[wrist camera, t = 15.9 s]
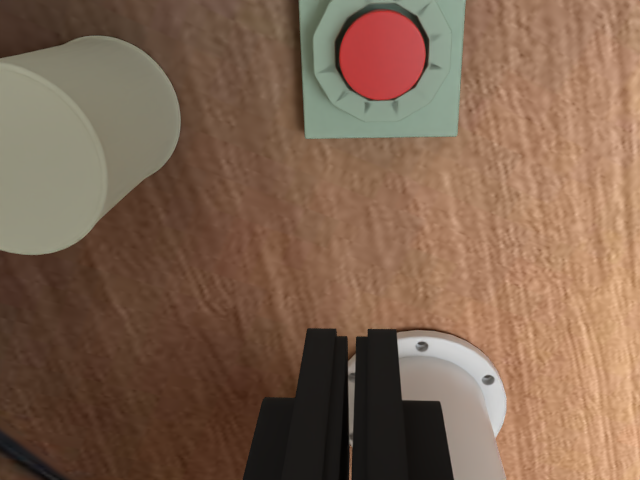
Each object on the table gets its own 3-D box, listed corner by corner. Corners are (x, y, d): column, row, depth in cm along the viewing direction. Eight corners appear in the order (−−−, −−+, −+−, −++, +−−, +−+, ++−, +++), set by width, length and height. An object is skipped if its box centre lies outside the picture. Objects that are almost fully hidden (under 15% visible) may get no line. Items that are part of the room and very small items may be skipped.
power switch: (453, 130, 36) (462, 145, 33) (307, 132, 37) (301, 147, 34) (464, -53, 32) (474, -56, 29) (299, -46, 33) (292, -48, 30)
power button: (421, 93, 32) (424, 99, 31) (341, 95, 33) (339, 101, 31) (424, 7, 30) (427, 9, 29) (339, 10, 31) (337, 12, 29)
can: (21, 38, 36) (-131, 64, 25) (170, 32, 35) (80, 57, 24) (55, 182, 39) (-64, 261, 28) (190, 180, 39) (120, 261, 28)
